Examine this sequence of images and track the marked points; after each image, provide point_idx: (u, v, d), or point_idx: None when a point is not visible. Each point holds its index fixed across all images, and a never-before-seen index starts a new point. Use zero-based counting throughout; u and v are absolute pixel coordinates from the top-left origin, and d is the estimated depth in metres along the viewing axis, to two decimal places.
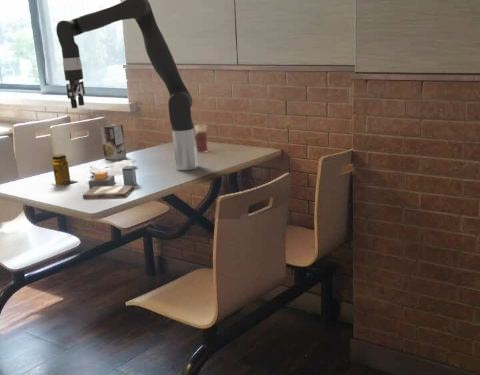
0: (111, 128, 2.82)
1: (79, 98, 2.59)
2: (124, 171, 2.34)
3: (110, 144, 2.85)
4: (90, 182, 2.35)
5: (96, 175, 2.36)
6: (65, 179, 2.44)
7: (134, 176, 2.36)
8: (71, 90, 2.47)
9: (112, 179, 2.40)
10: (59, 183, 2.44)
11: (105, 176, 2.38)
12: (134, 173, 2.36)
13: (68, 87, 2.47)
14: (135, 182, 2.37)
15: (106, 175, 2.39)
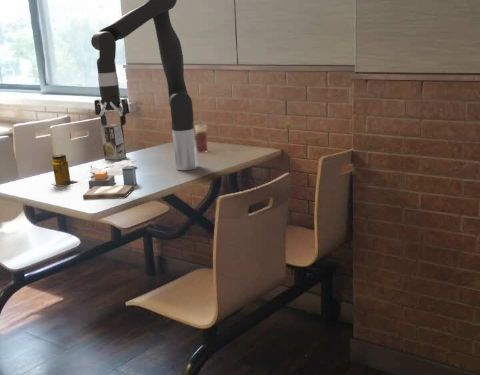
0: (111, 128, 2.82)
1: (103, 117, 2.37)
2: (124, 171, 2.34)
3: (110, 144, 2.85)
4: (90, 182, 2.35)
5: (96, 175, 2.36)
6: (65, 179, 2.44)
7: (134, 176, 2.35)
8: (127, 105, 2.33)
9: (112, 179, 2.40)
10: (59, 183, 2.44)
11: (105, 176, 2.38)
12: (134, 173, 2.36)
13: (125, 102, 2.31)
14: (135, 182, 2.37)
15: (106, 175, 2.39)
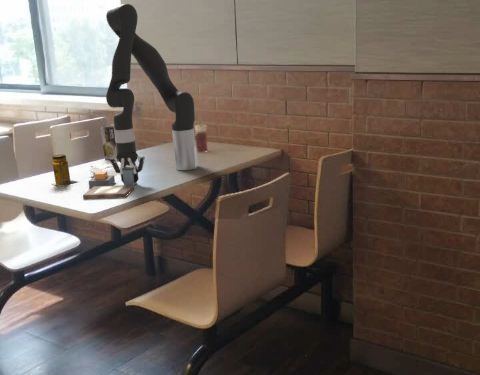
0: (111, 128, 2.82)
1: None
2: (124, 171, 2.34)
3: (110, 144, 2.85)
4: (90, 182, 2.35)
5: (96, 175, 2.36)
6: (65, 179, 2.44)
7: None
8: (143, 163, 2.35)
9: (112, 179, 2.40)
10: (59, 183, 2.44)
11: (105, 176, 2.38)
12: None
13: (142, 161, 2.33)
14: None
15: (106, 175, 2.39)
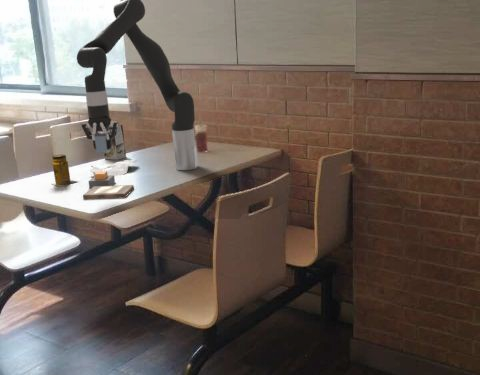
0: (111, 128, 2.82)
1: None
2: (96, 137, 2.19)
3: None
4: (90, 182, 2.35)
5: (96, 175, 2.36)
6: (65, 179, 2.44)
7: None
8: (116, 129, 2.20)
9: (112, 179, 2.40)
10: (59, 183, 2.44)
11: (105, 176, 2.38)
12: None
13: (116, 126, 2.18)
14: None
15: (106, 175, 2.39)
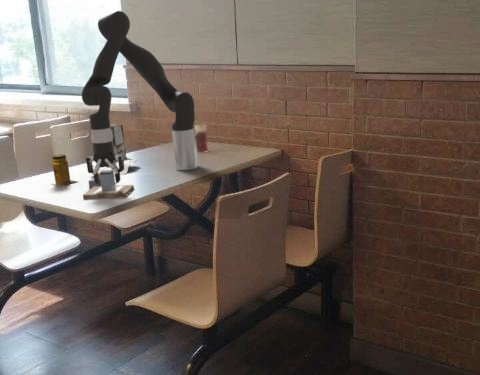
0: (111, 128, 2.82)
1: (97, 175, 2.24)
2: (101, 175, 2.22)
3: None
4: (90, 182, 2.35)
5: None
6: (65, 179, 2.44)
7: (112, 180, 2.24)
8: (123, 162, 2.23)
9: None
10: (59, 183, 2.44)
11: None
12: (112, 177, 2.25)
13: (121, 159, 2.21)
14: (113, 187, 2.26)
15: None
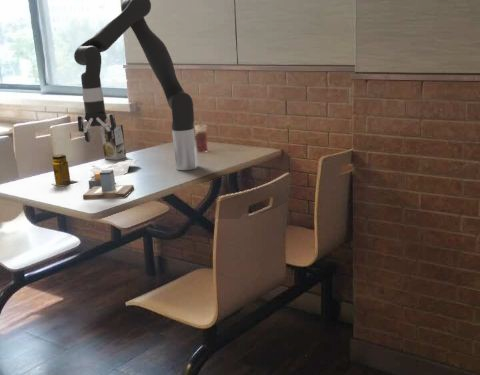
0: None
1: (88, 134, 2.30)
2: (101, 175, 2.22)
3: (110, 144, 2.85)
4: (90, 182, 2.35)
5: (96, 175, 2.36)
6: (65, 179, 2.44)
7: (112, 180, 2.24)
8: (114, 120, 2.29)
9: None
10: (59, 183, 2.44)
11: None
12: (112, 177, 2.25)
13: (113, 117, 2.28)
14: (113, 187, 2.26)
15: None
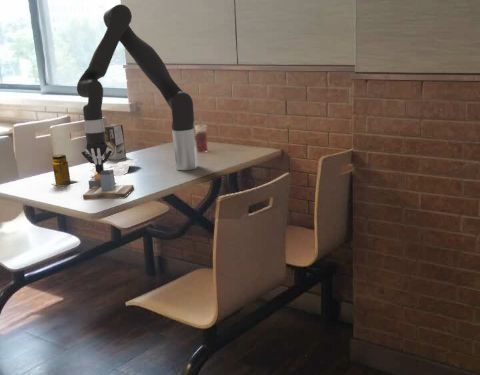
0: (111, 128, 2.82)
1: None
2: (101, 175, 2.22)
3: (110, 144, 2.85)
4: (90, 182, 2.35)
5: (96, 175, 2.36)
6: (65, 179, 2.44)
7: (112, 180, 2.24)
8: None
9: None
10: (59, 183, 2.44)
11: None
12: (112, 177, 2.25)
13: (110, 154, 2.35)
14: (113, 187, 2.26)
15: None
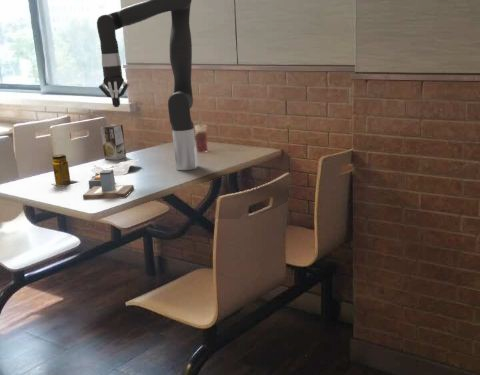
0: (111, 128, 2.82)
1: None
2: (101, 175, 2.22)
3: (110, 144, 2.85)
4: (90, 182, 2.35)
5: (96, 178, 2.37)
6: (65, 179, 2.44)
7: (112, 180, 2.24)
8: (126, 89, 2.47)
9: None
10: (59, 183, 2.44)
11: None
12: (112, 177, 2.25)
13: (126, 87, 2.45)
14: (113, 187, 2.26)
15: None
